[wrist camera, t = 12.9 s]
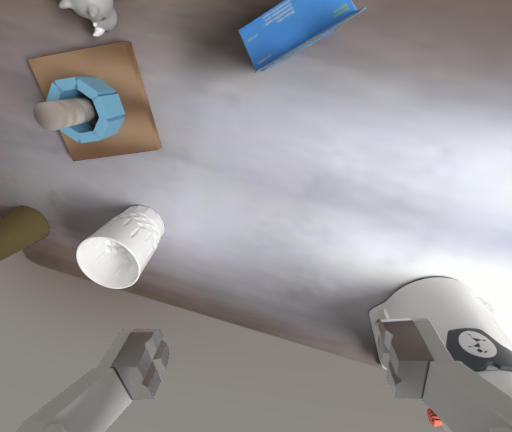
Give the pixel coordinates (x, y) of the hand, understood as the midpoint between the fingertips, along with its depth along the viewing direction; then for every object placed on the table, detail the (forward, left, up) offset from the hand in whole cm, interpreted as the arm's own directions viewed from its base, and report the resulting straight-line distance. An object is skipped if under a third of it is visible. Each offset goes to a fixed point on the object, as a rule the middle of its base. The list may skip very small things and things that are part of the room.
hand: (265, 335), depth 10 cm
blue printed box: (+12, -3, -29) cm, 32 cm away
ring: (+8, +21, -27) cm, 35 cm away
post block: (+8, +21, -29) cm, 36 cm away
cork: (-7, +40, -29) cm, 50 cm away
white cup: (-9, +22, -29) cm, 37 cm away
